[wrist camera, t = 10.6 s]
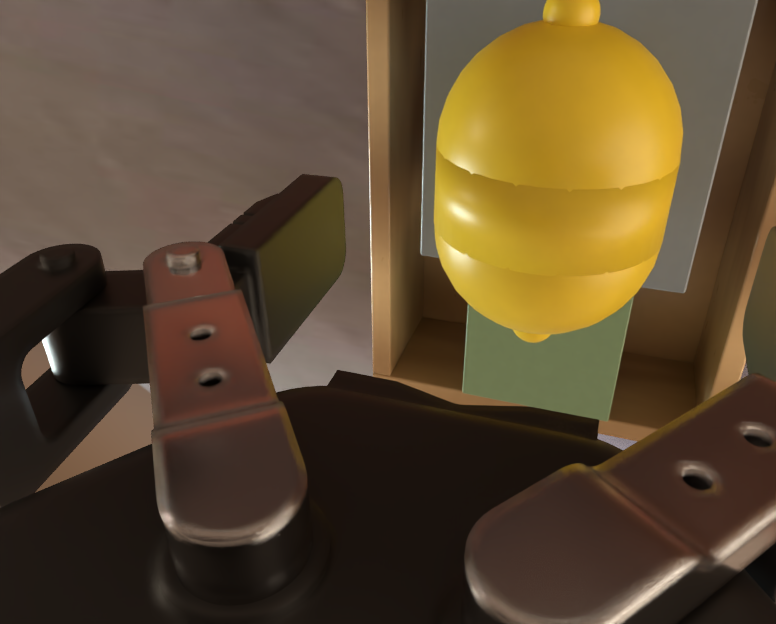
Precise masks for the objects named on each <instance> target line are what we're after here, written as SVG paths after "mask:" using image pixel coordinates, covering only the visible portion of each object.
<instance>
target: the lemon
mask: <svg viewBox="0 0 776 624" xmlns="http://www.w3.org/2000/svg"><path fill="white" fill-rule="evenodd" d="M599 18H600V2H599V0H547V1H546V3H545V6H544V10H543V20H540V21H535V22H531V23H527V24H524V25H521V26H519V27H517V28H515V29H513V30H511V31H509V32H507V33H505V34H503V35H501V36H499V37H498V38H496V39H495V40H494V41H492V42H491V43H490V44H489V45H487V46H486V47H485V48H483V49H482V50H481V51H479V52H478V53H477V54H476V55H475V56H474V57H473V59H472V60H471V61H470V62H469V63H468V64H467V65H466V67H465V68H464V69H463V70H462V71H461V73H460V75H459V76H458V78H457V80H456V82H455V83H454V85H453V87H452V88H451V90H450V92H449V94H448V96H447V99H446V102H445V105H444V108H443V111H442V113H441V116H440V119H439V126H438V134H437V141H436V170H435V199H434V229H435V241H436V248H437V251H438V255H439V258H440V261H441V264H442V267H443V269H444V270H445V272H446V274H447V276H448V277H449V279H450V281H451V283H452V284H453V286H454V288H455V290H456V291H457V292H458V293H459V294H460V295H461V296H462V297H463V298H464V299H465V300H466V302H467V303H468V304H469V305H470V306H471V307H472V308H473V309H475V310H476V311H477V312H479V313H480V314H482V315H483V316H485V317H486V318H488V319H490V320H492V321H494V322H495V323H497V324H500V325H502V326H504V327H506V328H509V329H513V331H514V333H515V334H516V335H517V336H518V337H519V338H520V339H522V340H524V341H526V342H530V343H537V342H541V341H543V340H545V339H547V338H548V337H549V336H550V335H551V334H561V333H567V332H570V331H574V330H578V329H582V328H586V327H589V326H591V325H593V324H596V323H598V322H600V321H602V320H603V319H605V318H607V317H608V316H610V315H612V314H613V313H615V312H616V311H617V310H619V309H620V308H621V307H623V306H624V305H625V304H626V303H627V302H628V301H629V300H630V299H631V298H632V297H633V296H634V295H635V294H636V293H637V292H638V290H639V289H640V288H641V286H642V285H643V283H644V282H645V280H646V279H647V277H648V275H649V274H650V272H651V271H652V269H653V267H654V265H655V263H656V260H657V257H658V254H659V251H660V248H661V245H662V242H663V237H664V233H665V228H666V224H667V219H668V215H669V210H670V206H671V201H672V197H673V192H674V188H675V183H676V179H677V174H678V170H679V165H680V158H681V148H682V139H683V125H682V115H681V107H680V104H679V102H678V99H677V96H676V93H675V90H674V87H673V84H672V83H671V81H670V79H669V78H668V76H667V74H666V73H665V71H664V69H663V68H662V66H661V65H660V63H659V61H658V60H657V59H656V58H655V57H654V56H653V55H652V54H651V53H650V52H649V51H648V50H647V49H646V48H645V47H644V46H643V45H642V44H641V43H640V42H639V41H637V40H636V39H634V38H632V37H631V36H629V35H628V34H626V33H624V32H623V31H621V30H620V29H618V28H616V27H613V26H610V25H607V24H604V23H601V22H598V21H599Z"/></svg>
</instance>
